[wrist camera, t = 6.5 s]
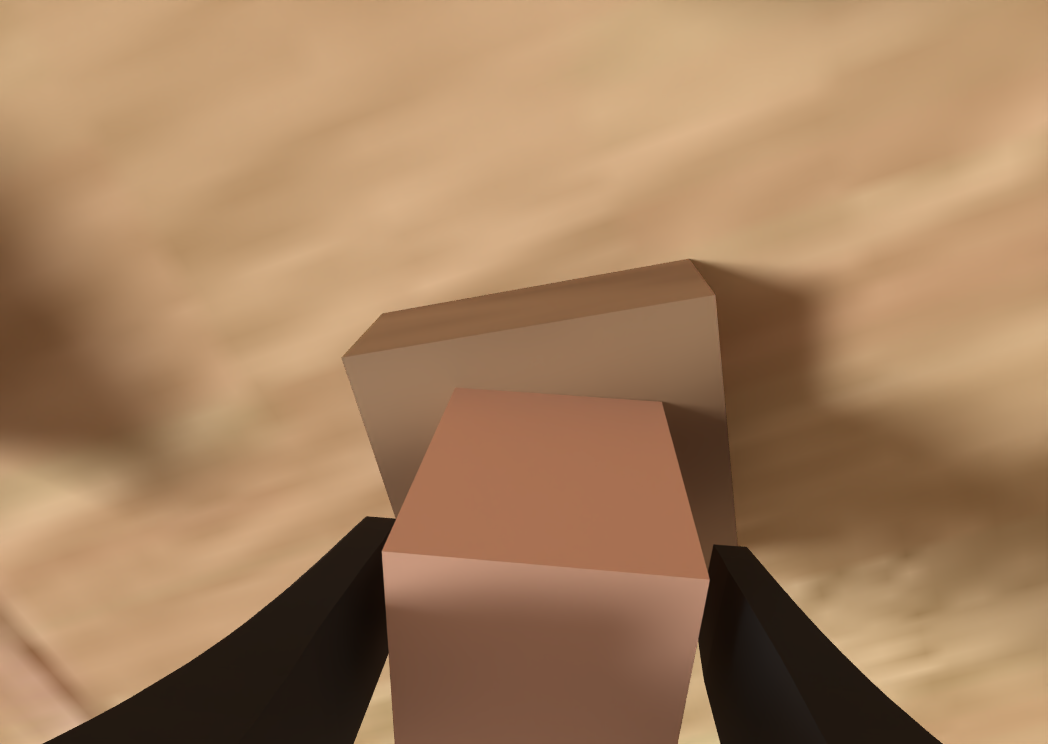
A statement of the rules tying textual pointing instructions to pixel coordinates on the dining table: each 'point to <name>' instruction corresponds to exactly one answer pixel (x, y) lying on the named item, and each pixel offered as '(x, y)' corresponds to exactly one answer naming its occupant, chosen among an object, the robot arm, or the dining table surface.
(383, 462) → the walnut slab
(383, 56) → the dining table surface
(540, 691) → the terracotta block
